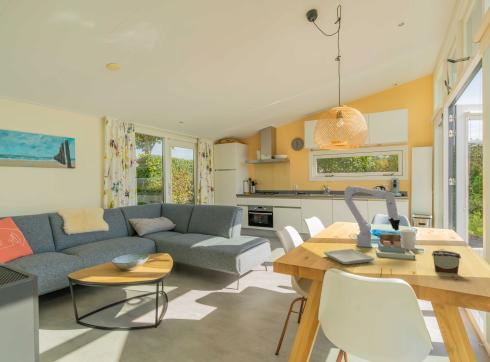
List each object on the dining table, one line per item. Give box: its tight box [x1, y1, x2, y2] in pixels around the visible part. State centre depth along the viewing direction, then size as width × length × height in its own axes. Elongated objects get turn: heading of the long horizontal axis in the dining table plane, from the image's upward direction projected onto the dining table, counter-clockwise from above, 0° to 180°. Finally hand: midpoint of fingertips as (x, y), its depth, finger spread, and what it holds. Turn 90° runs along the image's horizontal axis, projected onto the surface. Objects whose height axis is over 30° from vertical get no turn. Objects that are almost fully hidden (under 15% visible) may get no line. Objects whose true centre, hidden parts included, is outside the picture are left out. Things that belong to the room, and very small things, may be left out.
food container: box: [431, 250, 462, 275], centre depth 139 cm, size 12×6×10 cm, turn 71°
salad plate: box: [323, 248, 375, 265], centre depth 160 cm, size 21×21×3 cm
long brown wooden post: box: [379, 232, 401, 244], centre depth 184 cm, size 12×3×6 cm, turn 70°
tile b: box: [393, 241, 401, 247], centre depth 175 cm, size 4×4×2 cm
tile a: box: [383, 241, 391, 246], centre depth 178 cm, size 4×4×2 cm
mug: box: [400, 229, 417, 251], centre depth 186 cm, size 12×8×12 cm
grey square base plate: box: [377, 241, 406, 253], centre depth 179 cm, size 14×13×4 cm
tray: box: [375, 247, 416, 261], centre depth 167 cm, size 20×12×2 cm, turn 70°
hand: (395, 229), depth 182 cm, fingers open, 7 cm apart
